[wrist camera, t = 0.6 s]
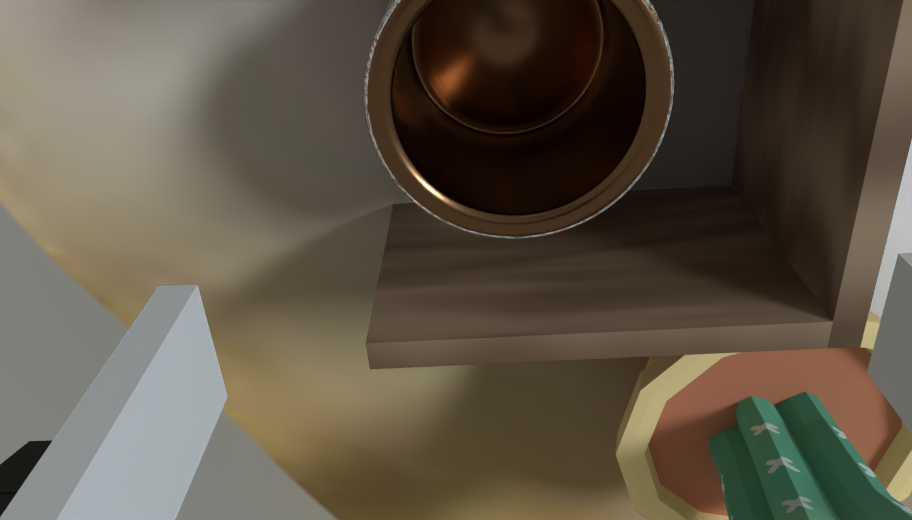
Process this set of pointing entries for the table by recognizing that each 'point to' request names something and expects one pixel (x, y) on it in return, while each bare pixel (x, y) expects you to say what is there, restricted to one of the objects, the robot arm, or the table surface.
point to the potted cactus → (765, 437)
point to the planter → (518, 107)
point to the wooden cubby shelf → (691, 226)
